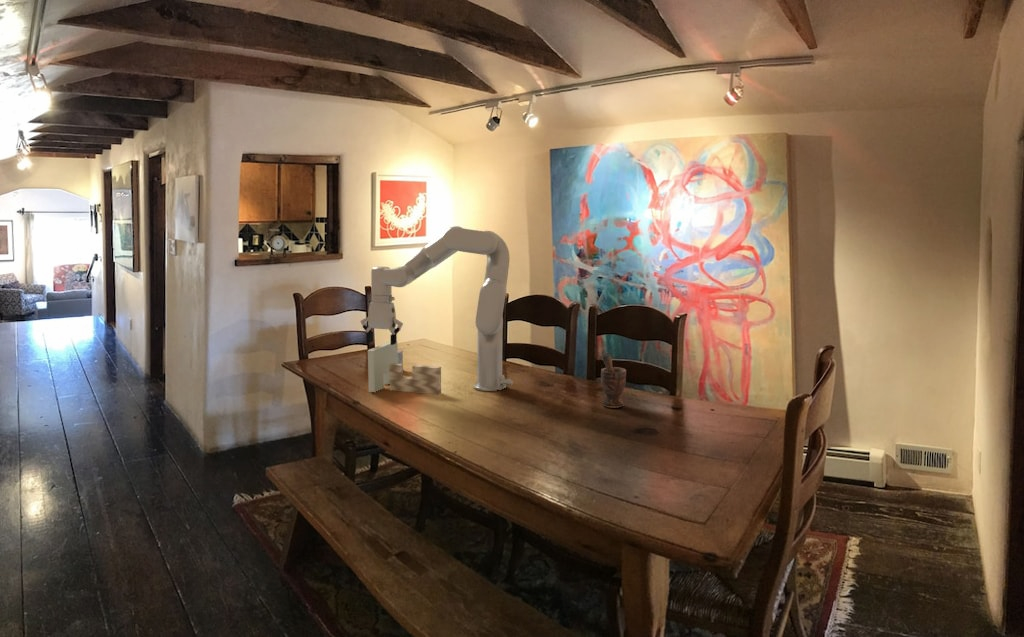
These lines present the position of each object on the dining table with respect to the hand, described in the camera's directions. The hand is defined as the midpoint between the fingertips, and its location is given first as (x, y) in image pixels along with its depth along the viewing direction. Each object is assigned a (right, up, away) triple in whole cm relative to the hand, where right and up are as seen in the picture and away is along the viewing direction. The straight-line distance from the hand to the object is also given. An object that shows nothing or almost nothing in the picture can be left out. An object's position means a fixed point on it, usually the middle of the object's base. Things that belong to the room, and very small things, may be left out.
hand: (381, 343), depth 256 cm
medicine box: (-1, -13, +28) cm, 31 cm away
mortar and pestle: (+85, -22, -25) cm, 91 cm away
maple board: (+14, -18, -5) cm, 23 cm away
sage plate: (0, -17, +3) cm, 17 cm away
